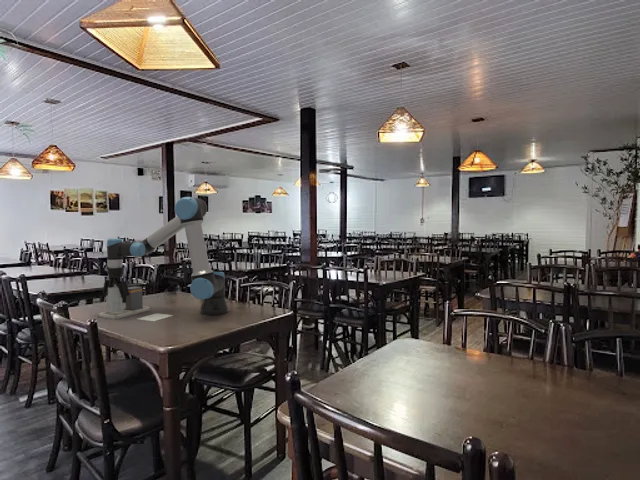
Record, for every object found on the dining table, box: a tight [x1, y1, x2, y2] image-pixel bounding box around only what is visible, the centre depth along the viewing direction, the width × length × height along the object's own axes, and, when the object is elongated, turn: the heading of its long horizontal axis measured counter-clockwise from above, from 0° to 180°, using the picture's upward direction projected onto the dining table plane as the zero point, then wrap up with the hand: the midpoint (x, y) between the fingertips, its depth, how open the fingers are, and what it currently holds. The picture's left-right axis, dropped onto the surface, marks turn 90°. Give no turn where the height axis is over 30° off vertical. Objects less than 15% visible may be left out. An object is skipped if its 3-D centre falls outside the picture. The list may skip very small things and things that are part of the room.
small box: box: [107, 286, 124, 313], centre depth 228 cm, size 8×6×13 cm
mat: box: [136, 313, 174, 322], centre depth 224 cm, size 12×14×1 cm
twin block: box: [124, 285, 144, 311], centre depth 239 cm, size 6×8×13 cm
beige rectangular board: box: [96, 305, 152, 320], centre depth 234 cm, size 14×24×2 cm, turn 157°
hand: (116, 307), depth 228 cm, fingers closed on small box, 10 cm apart
